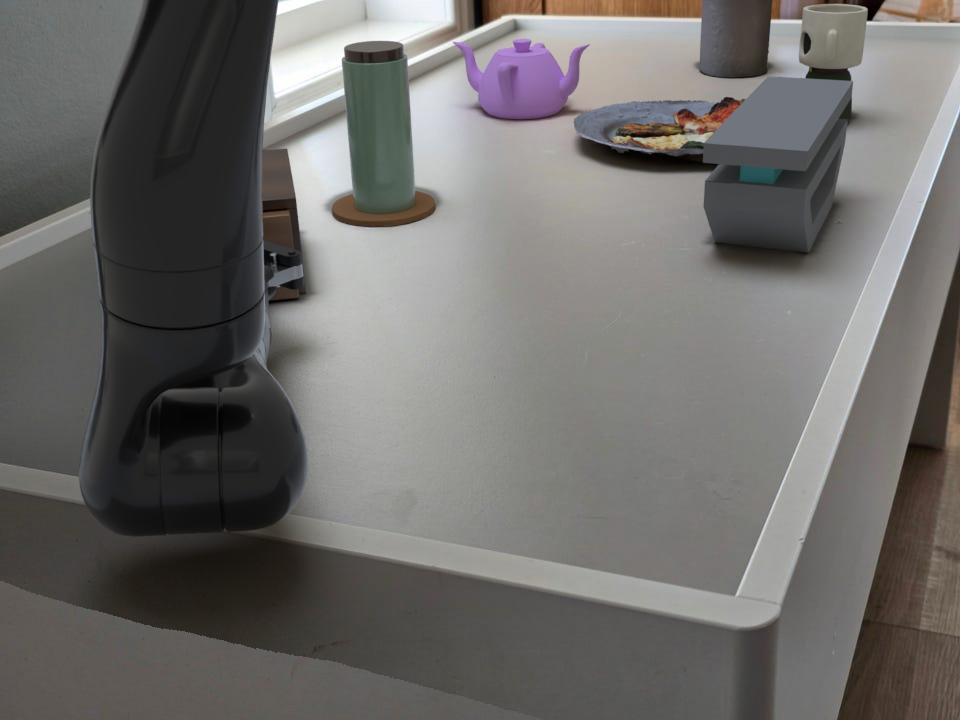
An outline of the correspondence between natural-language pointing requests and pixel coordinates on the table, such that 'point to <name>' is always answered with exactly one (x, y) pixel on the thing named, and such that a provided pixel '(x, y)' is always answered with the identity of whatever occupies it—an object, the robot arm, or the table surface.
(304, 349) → the table surface
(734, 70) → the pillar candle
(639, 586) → the table surface
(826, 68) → the character mug
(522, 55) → the teapot
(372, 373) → the table surface
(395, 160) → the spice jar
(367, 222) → the coaster
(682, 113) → the food plate
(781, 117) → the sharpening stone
